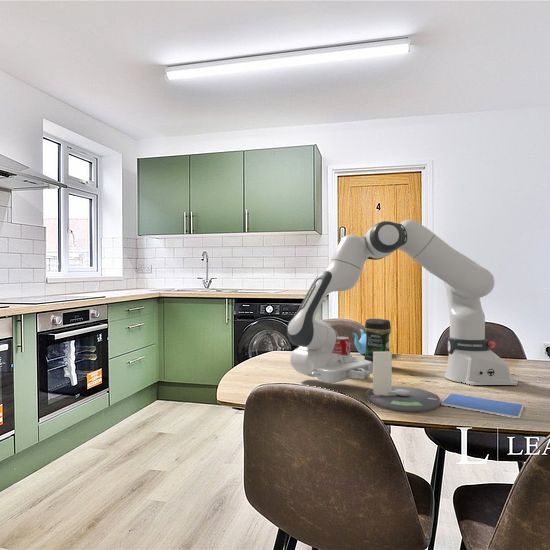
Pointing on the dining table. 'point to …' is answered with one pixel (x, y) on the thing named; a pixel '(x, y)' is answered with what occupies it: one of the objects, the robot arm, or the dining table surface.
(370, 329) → the coffee jar
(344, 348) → the soda can
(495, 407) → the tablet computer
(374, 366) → the white l-shaped block
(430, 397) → the grey disc base
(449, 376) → the robot arm
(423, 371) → the dining table surface
